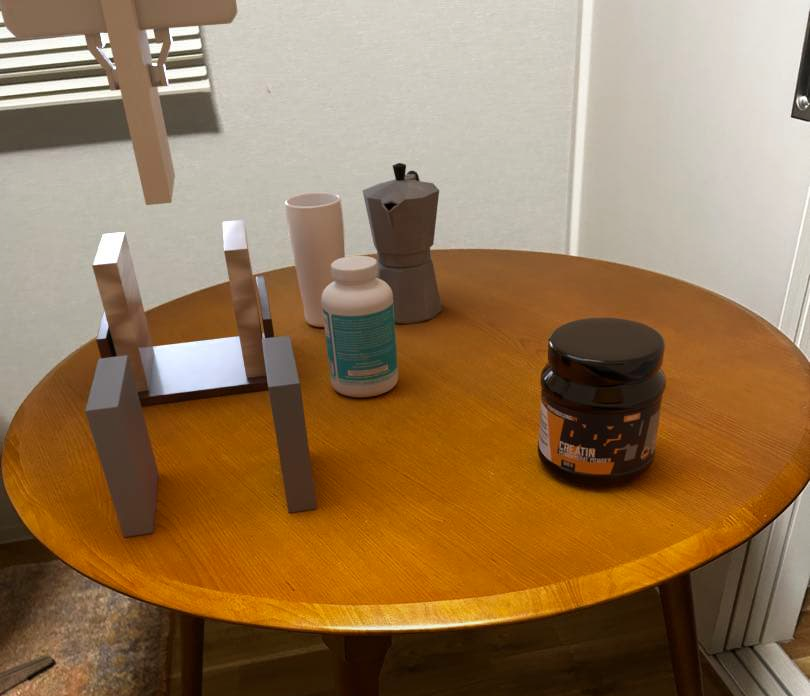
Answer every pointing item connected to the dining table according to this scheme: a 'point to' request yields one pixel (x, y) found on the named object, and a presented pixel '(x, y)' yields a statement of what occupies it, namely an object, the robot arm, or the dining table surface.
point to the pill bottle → (360, 329)
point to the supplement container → (601, 401)
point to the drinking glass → (315, 246)
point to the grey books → (132, 452)
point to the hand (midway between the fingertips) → (139, 87)
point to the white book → (140, 100)
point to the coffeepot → (405, 242)
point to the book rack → (193, 361)
